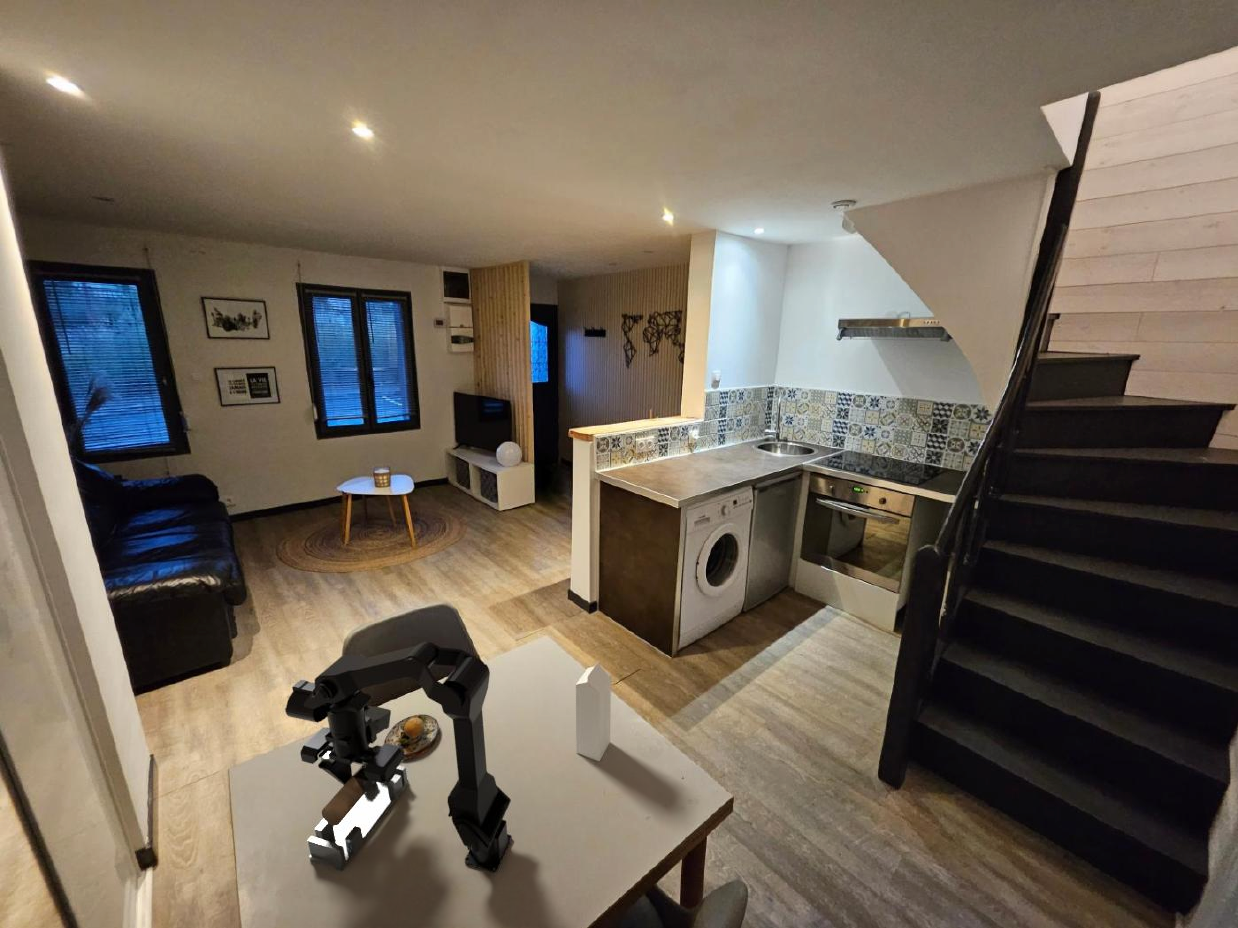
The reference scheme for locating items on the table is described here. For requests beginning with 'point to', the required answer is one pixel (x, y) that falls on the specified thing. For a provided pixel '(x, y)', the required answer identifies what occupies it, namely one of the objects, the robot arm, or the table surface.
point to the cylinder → (343, 801)
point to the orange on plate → (414, 735)
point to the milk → (593, 712)
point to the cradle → (355, 823)
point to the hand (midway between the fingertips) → (358, 787)
